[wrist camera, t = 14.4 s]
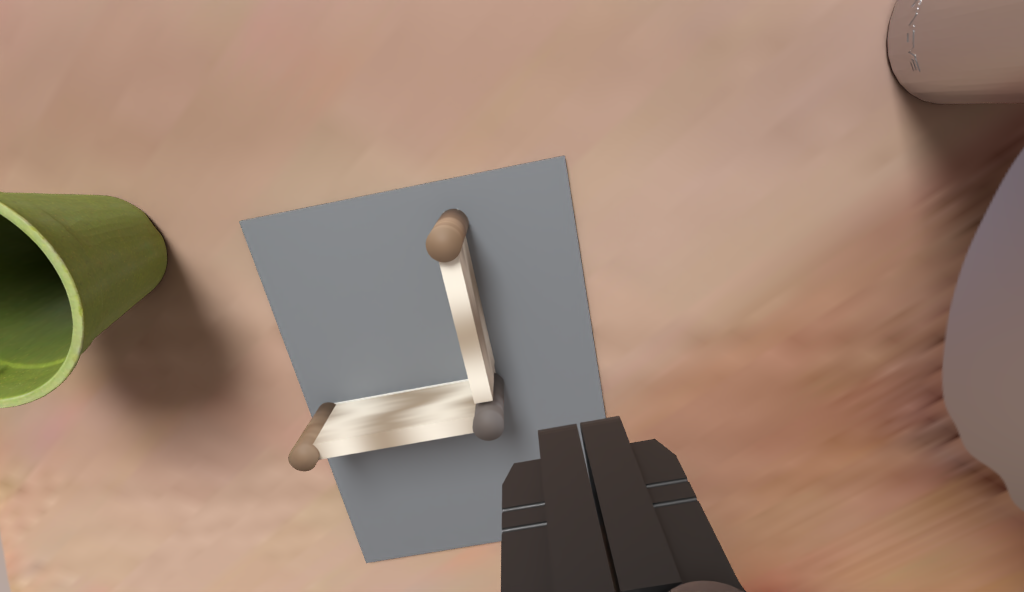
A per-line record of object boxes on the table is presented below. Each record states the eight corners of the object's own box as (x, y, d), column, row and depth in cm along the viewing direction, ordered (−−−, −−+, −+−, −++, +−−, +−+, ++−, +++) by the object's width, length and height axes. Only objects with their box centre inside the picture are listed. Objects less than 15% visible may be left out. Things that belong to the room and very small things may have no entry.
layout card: (564, 155, 34) (564, 156, 33) (620, 517, 44) (622, 522, 43) (241, 220, 35) (238, 221, 35) (367, 559, 45) (366, 563, 44)
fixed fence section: (435, 211, 35) (421, 231, 29) (465, 206, 35) (457, 224, 29) (473, 365, 38) (467, 410, 33) (499, 360, 38) (498, 404, 33)
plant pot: (226, 316, 37) (116, 396, 27) (66, 333, 38) (-106, 420, 27) (173, 146, 34) (19, 161, 23) (-5, 167, 34) (-239, 191, 23)
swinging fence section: (501, 369, 38) (500, 411, 33) (506, 393, 39) (506, 437, 33) (314, 403, 39) (284, 449, 34) (322, 426, 39) (294, 474, 34)
